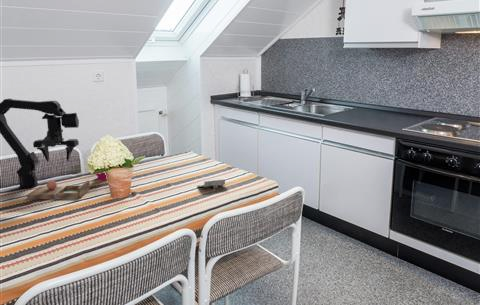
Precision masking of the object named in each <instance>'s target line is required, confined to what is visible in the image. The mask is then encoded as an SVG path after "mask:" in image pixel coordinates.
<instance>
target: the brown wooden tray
mask: <svg viewBox="0 0 480 305" xmlns="http://www.w3.org/2000/svg"><path fill="white" fill-rule="evenodd" d="M90 190H91V188H90V180H86V181H85V182H84V183H82V184H81V185H79V184H78V185H76V184H75V185H65V186H56V188H55V189H53V190H51V189H48V187H47V186H39V187H37V188H35V189H34V190H32V191H30V192H29V193H27V194H26V199H27V200H63V199H64V200H65V199H67V200H72V199H74V200H76V199H82V198H83V197H84V196H86V195H87V194H88V192H90Z"/></svg>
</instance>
